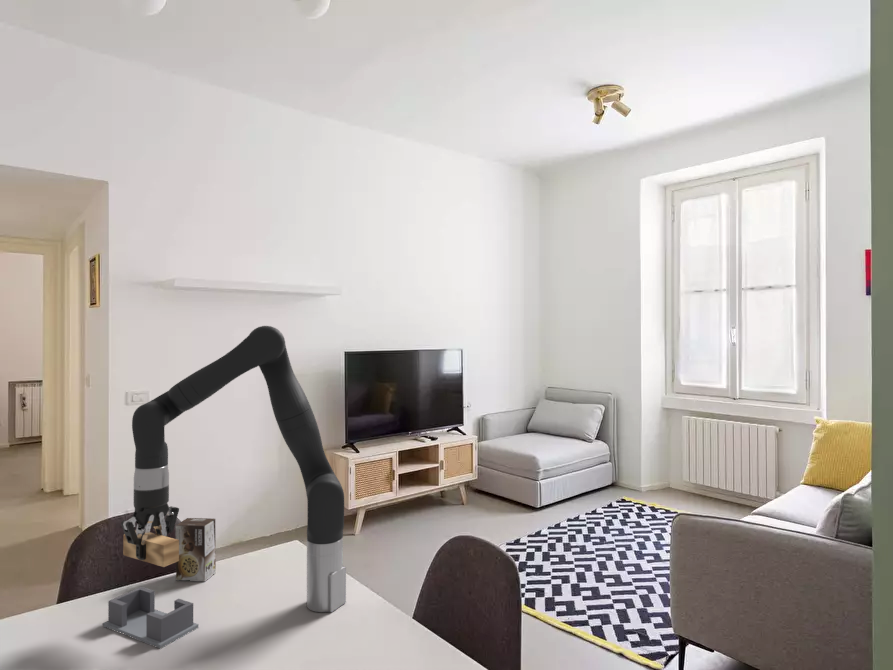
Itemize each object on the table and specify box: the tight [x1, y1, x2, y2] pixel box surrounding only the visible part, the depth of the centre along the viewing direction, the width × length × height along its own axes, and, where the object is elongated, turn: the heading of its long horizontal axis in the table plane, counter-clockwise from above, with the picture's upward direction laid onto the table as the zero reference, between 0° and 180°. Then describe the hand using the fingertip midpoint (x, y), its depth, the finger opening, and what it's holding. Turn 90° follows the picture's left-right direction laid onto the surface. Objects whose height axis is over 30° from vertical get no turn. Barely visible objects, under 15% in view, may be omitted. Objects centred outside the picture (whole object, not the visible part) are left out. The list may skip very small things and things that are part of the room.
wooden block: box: [122, 530, 179, 568], centre depth 132 cm, size 15×4×5 cm, turn 63°
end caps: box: [102, 586, 199, 649], centre depth 132 cm, size 21×10×6 cm, turn 63°
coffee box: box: [175, 517, 217, 582], centre depth 160 cm, size 9×6×16 cm
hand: (151, 555), depth 132 cm, fingers closed on wooden block, 4 cm apart
